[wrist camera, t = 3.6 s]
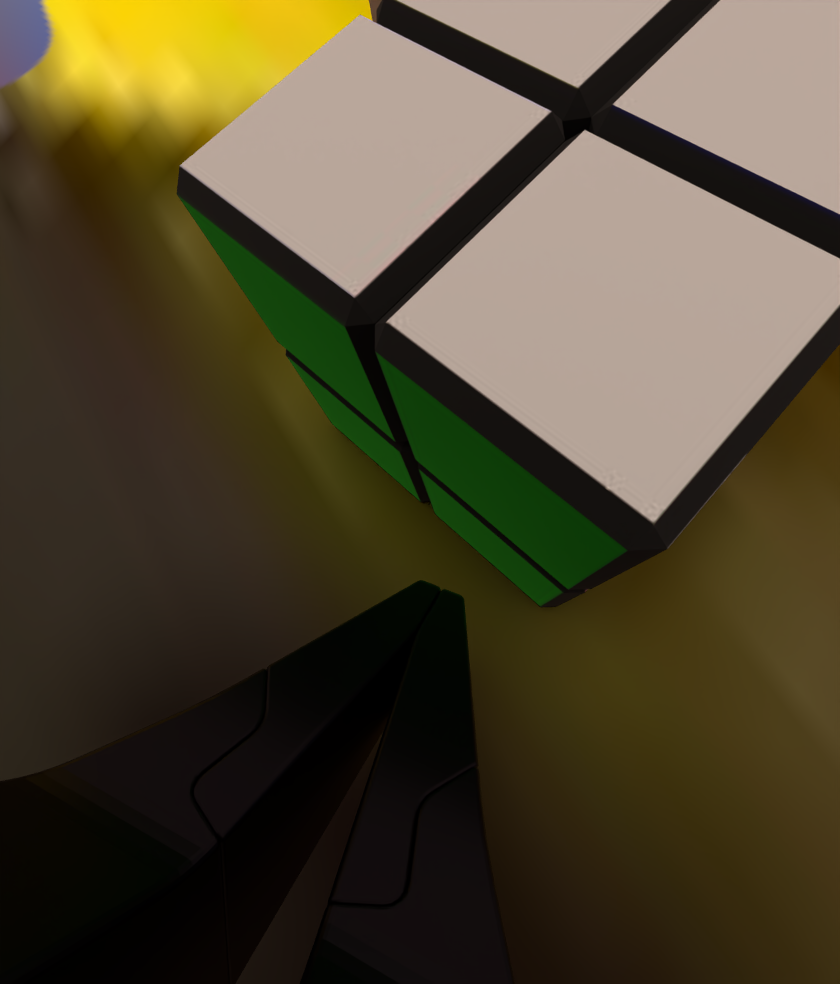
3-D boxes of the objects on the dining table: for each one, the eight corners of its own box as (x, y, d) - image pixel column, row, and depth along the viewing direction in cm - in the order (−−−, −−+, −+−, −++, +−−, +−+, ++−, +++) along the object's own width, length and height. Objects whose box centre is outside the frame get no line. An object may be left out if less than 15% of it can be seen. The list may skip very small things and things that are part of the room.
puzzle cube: (742, 389, 16) (1109, 31, 7) (547, 615, 15) (663, 568, 5) (509, 243, 19) (536, -151, 10) (328, 422, 18) (152, 169, 8)
